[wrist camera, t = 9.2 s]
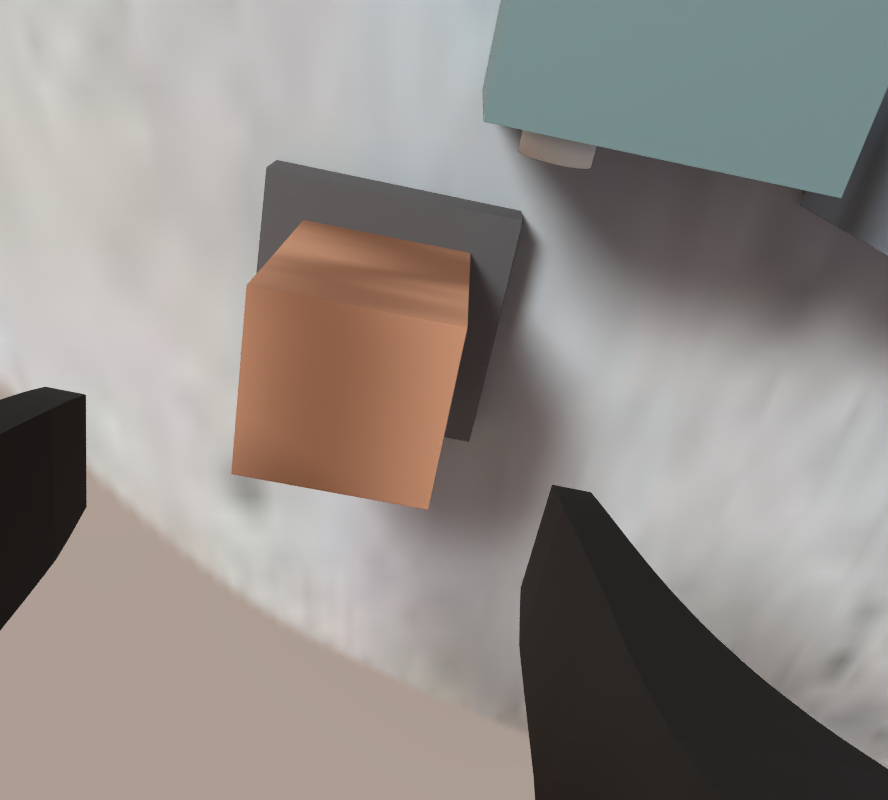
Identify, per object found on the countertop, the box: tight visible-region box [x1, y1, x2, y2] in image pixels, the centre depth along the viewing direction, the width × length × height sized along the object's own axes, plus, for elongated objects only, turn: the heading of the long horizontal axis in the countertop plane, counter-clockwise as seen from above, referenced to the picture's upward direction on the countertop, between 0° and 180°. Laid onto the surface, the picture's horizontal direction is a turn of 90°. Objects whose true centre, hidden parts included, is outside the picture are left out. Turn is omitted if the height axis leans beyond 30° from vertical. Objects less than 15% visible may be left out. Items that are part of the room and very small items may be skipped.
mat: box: [257, 160, 523, 442], centre depth 20 cm, size 6×6×1 cm
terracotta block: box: [231, 220, 471, 510], centre depth 17 cm, size 4×4×5 cm
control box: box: [483, 0, 888, 198], centre depth 15 cm, size 6×5×6 cm
